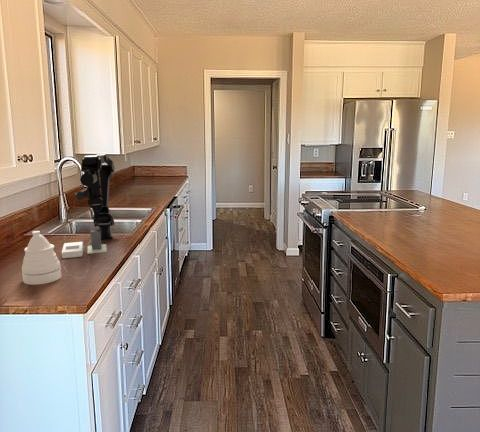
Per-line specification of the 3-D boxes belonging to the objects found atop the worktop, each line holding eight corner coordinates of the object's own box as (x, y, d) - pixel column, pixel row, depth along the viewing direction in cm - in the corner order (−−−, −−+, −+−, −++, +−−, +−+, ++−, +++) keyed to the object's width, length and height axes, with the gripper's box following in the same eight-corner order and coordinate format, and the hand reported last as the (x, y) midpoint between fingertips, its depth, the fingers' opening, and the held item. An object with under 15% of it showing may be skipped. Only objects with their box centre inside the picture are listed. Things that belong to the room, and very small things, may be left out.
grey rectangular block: (92, 247, 198) (90, 230, 197) (101, 246, 200) (100, 229, 198) (92, 249, 195) (90, 232, 193) (101, 248, 196) (100, 231, 194)
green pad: (87, 246, 202) (87, 245, 202) (106, 245, 204) (106, 244, 204) (87, 253, 190) (87, 252, 190) (106, 251, 193) (106, 250, 193)
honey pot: (59, 282, 157) (54, 232, 153) (20, 286, 153) (13, 236, 149) (63, 271, 169) (58, 225, 165) (26, 274, 165) (20, 228, 161)
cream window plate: (64, 248, 200) (64, 243, 199) (83, 246, 202) (82, 241, 201) (62, 258, 185) (61, 252, 184) (82, 256, 187) (81, 250, 187)
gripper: (75, 182, 206) (79, 214, 210) (73, 187, 189) (77, 222, 192) (100, 180, 210) (103, 212, 213) (101, 185, 192) (104, 220, 195)
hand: (96, 217), depth 203 cm, fingers open, 9 cm apart
